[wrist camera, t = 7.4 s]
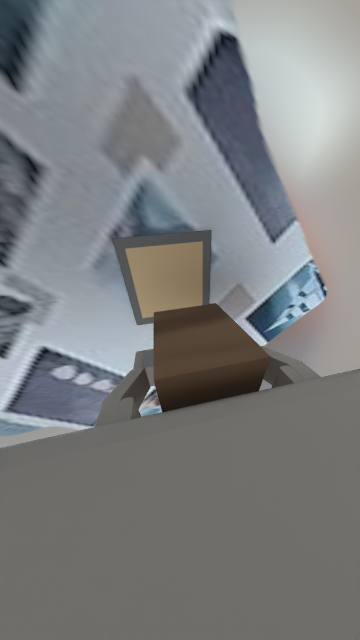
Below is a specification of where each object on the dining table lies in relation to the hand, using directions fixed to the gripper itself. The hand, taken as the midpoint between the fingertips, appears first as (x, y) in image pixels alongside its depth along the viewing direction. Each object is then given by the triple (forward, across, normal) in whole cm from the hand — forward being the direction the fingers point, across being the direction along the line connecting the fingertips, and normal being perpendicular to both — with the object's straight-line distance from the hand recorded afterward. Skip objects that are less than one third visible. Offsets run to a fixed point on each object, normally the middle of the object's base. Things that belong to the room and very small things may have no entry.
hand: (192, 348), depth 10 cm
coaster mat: (+19, 0, 0) cm, 19 cm away
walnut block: (+2, 0, 0) cm, 2 cm away
